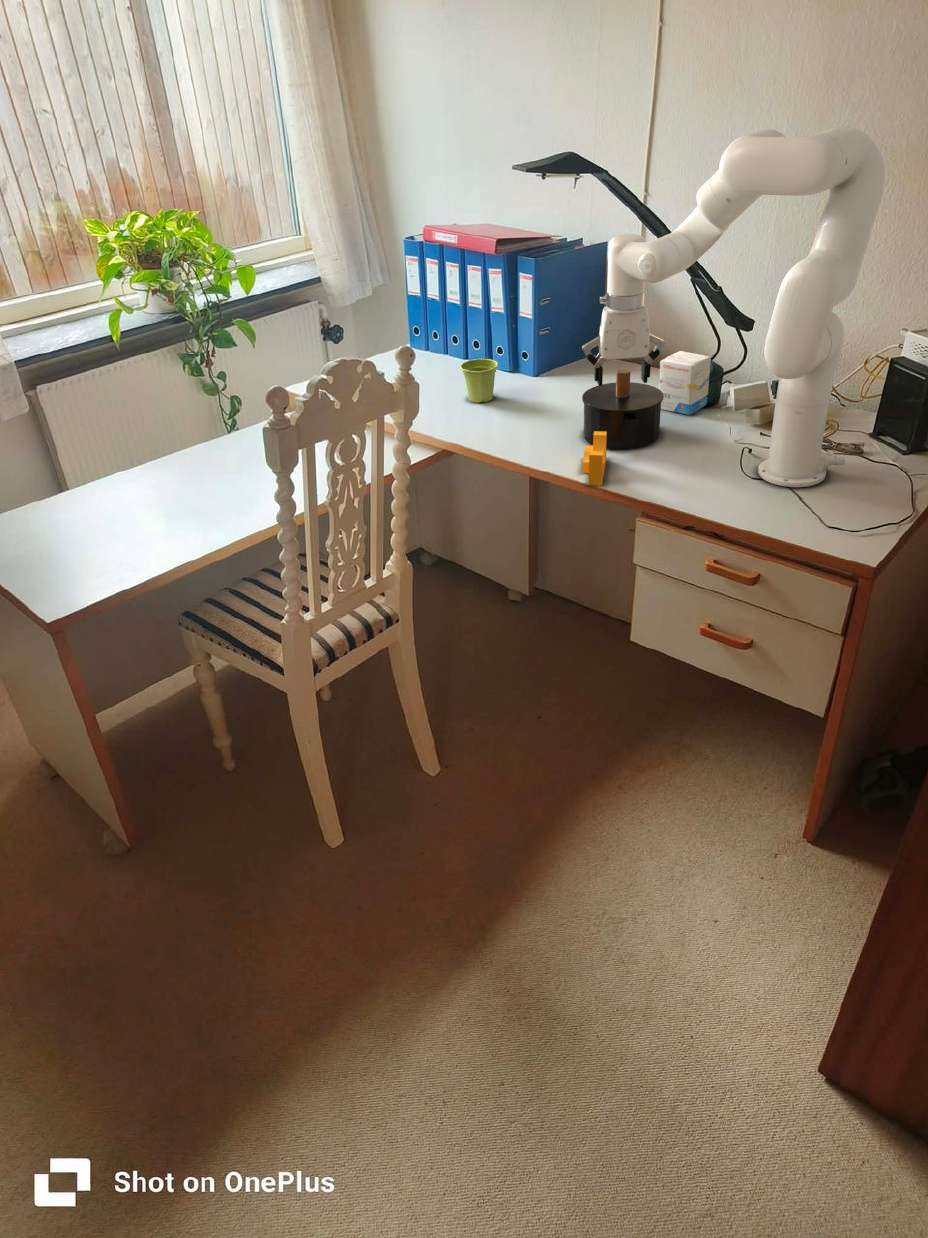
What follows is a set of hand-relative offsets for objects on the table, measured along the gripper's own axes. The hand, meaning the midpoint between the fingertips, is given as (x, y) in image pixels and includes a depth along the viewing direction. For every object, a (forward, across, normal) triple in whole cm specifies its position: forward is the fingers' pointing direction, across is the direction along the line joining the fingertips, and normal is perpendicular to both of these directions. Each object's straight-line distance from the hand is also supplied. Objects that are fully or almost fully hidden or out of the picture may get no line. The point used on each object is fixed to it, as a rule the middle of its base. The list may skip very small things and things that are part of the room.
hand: (621, 382), depth 188 cm
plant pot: (+13, -30, +30) cm, 44 cm away
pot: (+12, 0, 0) cm, 12 cm away
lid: (+4, 0, 0) cm, 4 cm away
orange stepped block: (+12, -9, -18) cm, 24 cm away
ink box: (+12, +17, +14) cm, 25 cm away
